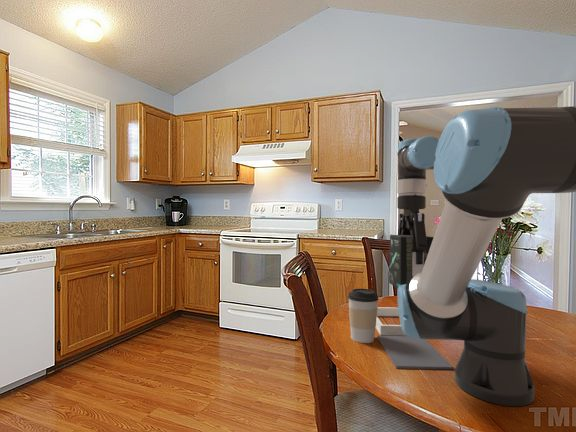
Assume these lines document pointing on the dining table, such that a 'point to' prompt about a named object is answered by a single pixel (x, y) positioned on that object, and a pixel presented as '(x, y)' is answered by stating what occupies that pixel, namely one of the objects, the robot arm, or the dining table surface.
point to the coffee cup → (362, 314)
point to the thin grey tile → (413, 353)
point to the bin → (388, 329)
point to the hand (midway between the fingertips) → (410, 272)
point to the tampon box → (402, 259)
